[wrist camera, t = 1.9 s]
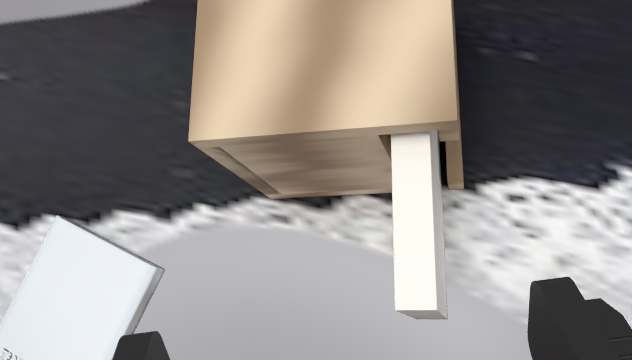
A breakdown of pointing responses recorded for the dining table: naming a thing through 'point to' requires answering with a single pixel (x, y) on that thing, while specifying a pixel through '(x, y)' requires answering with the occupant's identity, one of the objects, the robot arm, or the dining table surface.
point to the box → (323, 90)
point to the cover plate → (418, 225)
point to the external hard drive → (77, 298)
